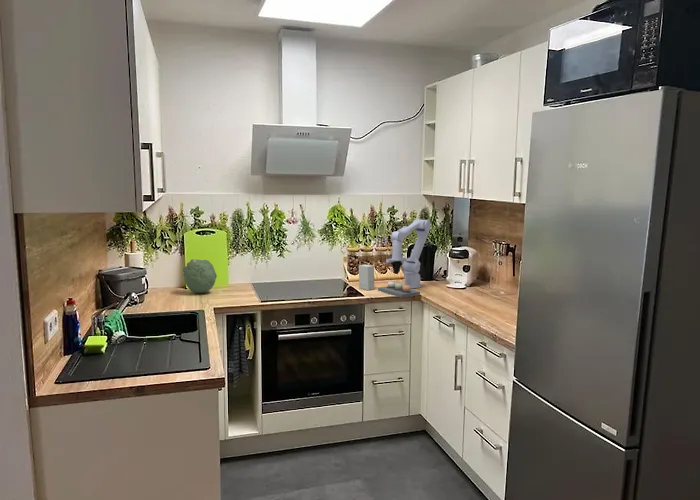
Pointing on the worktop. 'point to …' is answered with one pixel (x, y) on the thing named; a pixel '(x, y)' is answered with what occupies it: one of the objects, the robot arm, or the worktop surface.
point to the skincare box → (366, 277)
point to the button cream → (391, 283)
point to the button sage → (398, 286)
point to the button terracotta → (406, 288)
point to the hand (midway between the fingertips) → (396, 273)
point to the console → (398, 292)
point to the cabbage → (199, 276)
